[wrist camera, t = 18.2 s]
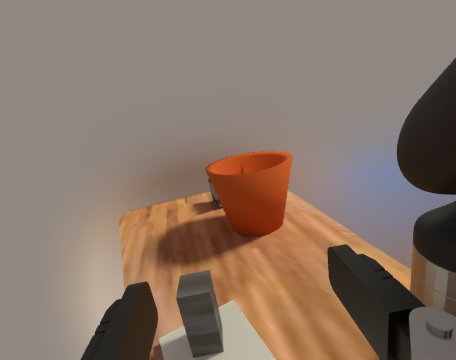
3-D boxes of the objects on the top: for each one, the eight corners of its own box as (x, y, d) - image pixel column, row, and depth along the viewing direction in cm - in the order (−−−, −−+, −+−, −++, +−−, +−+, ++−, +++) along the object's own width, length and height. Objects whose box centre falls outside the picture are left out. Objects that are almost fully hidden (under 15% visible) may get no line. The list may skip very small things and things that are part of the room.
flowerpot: (214, 214, 85) (203, 161, 80) (280, 200, 88) (274, 147, 82) (223, 253, 61) (208, 181, 56) (314, 232, 64) (308, 161, 58)
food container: (236, 205, 90) (232, 180, 87) (221, 210, 88) (216, 184, 85) (225, 196, 101) (221, 174, 98) (212, 200, 100) (207, 177, 97)
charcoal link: (195, 330, 40) (180, 275, 37) (222, 325, 40) (209, 270, 37) (193, 357, 35) (176, 298, 32) (223, 351, 35) (209, 291, 32)
